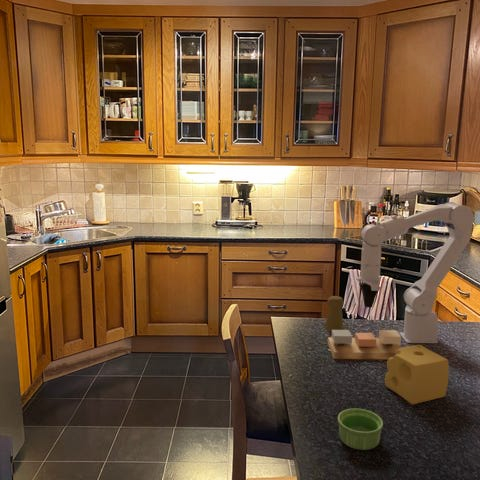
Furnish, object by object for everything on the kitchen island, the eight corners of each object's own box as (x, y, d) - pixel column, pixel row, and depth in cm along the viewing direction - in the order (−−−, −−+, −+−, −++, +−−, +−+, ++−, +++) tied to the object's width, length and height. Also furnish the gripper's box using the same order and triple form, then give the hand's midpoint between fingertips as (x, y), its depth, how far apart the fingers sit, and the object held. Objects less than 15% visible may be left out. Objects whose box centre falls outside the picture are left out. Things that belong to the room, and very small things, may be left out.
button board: (393, 344, 147) (394, 333, 147) (404, 359, 137) (405, 348, 136) (328, 343, 148) (328, 333, 147) (333, 358, 137) (334, 347, 137)
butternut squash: (330, 324, 164) (331, 293, 162) (347, 328, 161) (348, 296, 158) (321, 329, 160) (322, 297, 158) (338, 333, 156) (339, 300, 154)
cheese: (384, 386, 121) (386, 348, 120) (418, 379, 125) (421, 342, 123) (412, 406, 112) (414, 366, 110) (448, 398, 116) (452, 359, 114)
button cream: (395, 337, 144) (396, 330, 143) (400, 343, 139) (401, 336, 138) (378, 337, 144) (379, 330, 144) (383, 343, 139) (383, 336, 139)
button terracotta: (371, 339, 144) (372, 333, 144) (376, 346, 139) (376, 339, 139) (355, 339, 144) (355, 332, 144) (358, 346, 139) (358, 339, 139)
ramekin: (330, 442, 98) (330, 423, 97) (346, 422, 106) (347, 403, 105) (373, 458, 93) (374, 437, 92) (387, 435, 101) (388, 416, 100)
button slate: (348, 336, 144) (348, 329, 144) (351, 343, 139) (352, 336, 139) (331, 336, 144) (331, 329, 144) (334, 343, 139) (334, 336, 139)
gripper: (352, 258, 155) (350, 299, 157) (362, 269, 141) (360, 314, 143) (374, 258, 155) (372, 299, 157) (387, 270, 140) (384, 314, 143)
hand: (368, 306), depth 150 cm, fingers closed
